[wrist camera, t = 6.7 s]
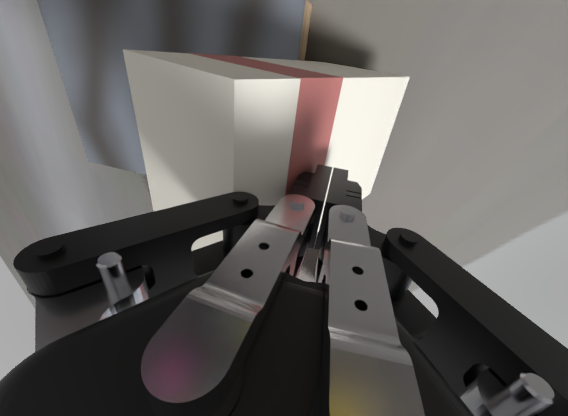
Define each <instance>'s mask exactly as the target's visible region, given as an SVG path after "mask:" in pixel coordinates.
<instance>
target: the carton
mask: <svg viewBox="0 0 568 416" xmlns="http://www.w3.org/2000/svg"><path fill="white" fill-rule="evenodd" d="M123 54H124V59H125V64H126V70H127V75H128V80H129V85H130V90H131V96H132V101H133V106H134V111H135V116H136V122H137V127H138V132H139V137H140V142H141V148H142V153H143V158H144V163H145V169H146V174H147V179H148V184H149V189H150V195H151V200H152V205H153V210H154V211H158V210H162V209H166V208H170V207H174V206H179V205H183V204H187V203H191V202H195V201H199V200H203V199H207V198H211V197H215V196H219V195H223V194H227V193H231V192H248V193H251V194H253V195H255V196H256V197H257V198H258V200H259V205H266V206H272V205H276V204H277V203H278V201H279V200H280V199H281V198H282V197H283V196H285V195H289V194H290V192H291V190H292V188H293V186H294V184H295V182H296V180H297V178H298V176H299V175H300V174H301V173H303V172H305V171H306V172H310V173H315V170H316V168H317V165H318V164H320V165H325V166H330V167H332V171H331V176H330V180H329V184H328V189H327V193H326V197H325V202H326V198H327V194H328V190H329V185H330V181H331V177H332V173H333V168H334V167H335V168H340V169H345V170H348V180H349V181H354V182H357V183H358V184H359V185H360V186H361V188H362V199H363V198H365V197H366V196H367V195H369V194H370V192H371V189H372V186H373V183H374V181H375V178H376V175H377V172H378V169H379V166H380V163H381V160H382V157H383V154H384V151H385V148H386V145H387V142H388V139H389V136H390V134H391V131H392V128H393V125H394V122H395V119H396V116H397V113H398V110H399V107H400V104H401V101H402V98H403V95H404V92H405V90H406V87H407V84H408V81H409V78H410V77H407V76H401V75H396V74H390V73H384V72H378V71H372V70H367V69H361V68H355V67H349V66H344V65H338V64H332V63H326V62H316V61H300V60H285V59H269V58H253V57H238V56H228V55H213V54H198V53H174V52H158V51H142V50H127V49H123ZM325 202H324V206H323V210H322V214H321V218H320V222H319V227H318V231H319V228H320V224H321V220H322V215H323V211H324V207H325ZM318 231H317V232H318ZM222 240H223V230H222V231H219V232H216V233H213V234H210V235H207V236H204V237H201V238H199V239H197V240H196V241H195V242H194V243H193V245H192V248H191V250H192V251H193V250H196V249H199V248H202V247H205V246H208V245H210V244H213V243H216V242H219V241H222Z"/></svg>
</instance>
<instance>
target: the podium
mask: <svg viewBox="0 0 568 416" xmlns="http://www.w3.org/2000/svg"><path fill="white" fill-rule="evenodd" d="M37 1H38V5H39V8H40V11H41V14H42V17H43V20H44V23H45V27H46V30H47V33H48V36H49V39H50V42H51V46H52V49H53V52H54V55H55V58H56V61H57V64H58V68H59V71H60V74H61V77H62V80H63V83H64V86H65V90H66V93H67V96H68V99H69V102H70V105H71V108H72V112H73V115H74V118H75V121H76V124H77V127H78V131H79V134H80V137H81V140H82V143H83V146H84V149H85V153H86V156H87V159H88V161H90V162H94V163H98V164H102V165H107V166H111V167H115V168H119V169H123V170H128V171H132V172H136V173H140V174H144V175H147V174H146V169H145V163H144V158H143V153H142V148H141V142H140V137H139V132H138V127H137V122H136V116H135V111H134V106H133V101H132V96H131V90H130V85H129V80H128V75H127V70H126V64H125V59H124V54H123V49H127V50H142V51H158V52H174V53H198V54H213V55H228V56H238V57H253V58H269V59H285V60H300V61H305V55H306V47H307V40H308V33H309V26H310V18H311V11H312V4H311V3H310V2H309V1H308V0H37Z"/></svg>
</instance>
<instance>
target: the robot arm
mask: <svg viewBox="0 0 568 416" xmlns="http://www.w3.org/2000/svg"><path fill="white" fill-rule="evenodd" d="M331 171H332V167H330V166H325V165H320V164H318V165H317V168H316V170H315V173H310V172H306V171H305V172H303V173H301V174H300V175H299V176H298V178H297V180H296V182H295V184H294V186H293V188H292V190H291V192H290V194H289V195H285V196H283V197H282V198H281V199H280V200H279V201H278V203H277V204H276V205H272V206H266V205H259V200H258V198H257V197H256V196H255V195H253V194H251V193H248V192H231V193H227V194H223V195H219V196H215V197H211V198H207V199H203V200H199V201H195V202H191V203H187V204H183V205H179V206H174V207H170V208H166V209H162V210H158V211H154V212H150V213H146V214H142V215H138V216H134V217H130V218H126V219H122V220H118V221H114V222H110V223H106V224H102V225H97V226H93V227H89V228H85V229H81V230H77V231H73V232H69V233H65V234H61V235H57V236H53V237H49V238H45V239H42V240H40V241H37V242H35V243H33V244H31V245H29V246H27V247H26V248H24V249H23V250H22V251H20V252H19V253H18V255H17V256H16V257H15V259H14V263H13V264H14V267H15V269H16V270H17V272H18V273H19V275H20V276H21V278H22V280H23V281H24V283H25V284H26V286H27V291H28V293H29V294H30V296H31V298H32V299H33V301H34V302H35V304H36V318H35V321H36V322H35V324H36V325H35V328H36V329H35V332H36V333H35V334H36V335H35V336H36V337H35V342H36V343H35V344H36V345H35V349H36V350H35V353H33V354H32V355H30V356H29V357H27V358H26V359H25V360H23V361H22V362H21V363H20V364H19V365H17V366H16V367H15V368H14V369H12V370H11V371H10V372H9V373H8V374H7V375H6V376H5V377H4V378H3V379H2V380H1V381H0V416H568V349H567V348H566V347H565V346H563V345H562V344H561V343H559V342H558V341H557V340H555V339H554V338H553V337H551V336H550V335H549V334H548V333H546V332H545V331H544V330H542V329H541V328H540V327H539V326H537V325H536V324H535V323H533V322H532V321H531V320H529V319H528V318H527V317H526V316H524V315H523V314H522V313H520V312H519V311H518V310H517V309H515V308H514V307H513V306H511V305H510V304H509V303H507V302H506V301H505V300H504V299H502V298H501V297H500V296H498V295H497V294H496V293H494V292H493V291H492V290H491V289H489V288H488V287H487V286H485V285H484V284H483V283H481V282H480V281H479V280H478V279H476V278H475V277H474V276H472V275H471V274H470V273H468V272H467V271H466V270H465V269H463V268H462V267H461V266H459V265H458V264H457V263H455V262H454V261H453V260H452V259H450V258H449V257H448V256H446V255H445V254H444V253H443V252H441V251H440V250H439V249H437V248H436V247H435V246H433V245H432V244H431V243H430V242H428V241H427V240H426V239H424V238H423V237H422V236H420V235H419V234H417V233H415V232H413V231H411V230H408V229H403V228H392V229H390V230H389V231H388V232H387V234H383V233H381V232H379V231H376V230H374V229H373V228H371V227H370V226H368V225H367V220H366V216H365V215H364V214H363V213H362V188H361V186H360V185H359V184H358V183H357V182H354V181H349V180H348V170H345V169H340V168H335V167H334V168H333V173H332V177H331V181H330V185H329V190H328V194H327V198H326V202H325V197H326V193H327V189H328V184H329V180H330V176H331ZM324 202H325V207H324V211H323V215H322V220H321V224H320V228H319V233H318V237H317V241H316V246H315V249H319V255H318V259H317V263H316V271H315V281H314V282H306V281H302V280H300V279H298V278H297V276H298V274H299V271H300V269H301V266H302V264H303V261H304V257H305V254H306V253H307V251H308V247H310V248H313V247H314V243H315V239H316V235H317V231H318V227H319V222H320V218H321V214H322V210H323V206H324ZM222 230H223V240H222V241H219V242H216V243H213V244H210V245H208V246H205V247H202V248H199V249H196V250H193V251H192V250H191V248H192V245H193V243H194V242H195V241H196V240H197V239H199V238H201V237H204V236H207V235H210V234H213V233H216V232H219V231H222ZM412 281H414V282H415V283H416V284H417V285H418V286H419V287H420V288H421V289H422V290H423V291H424V292H425V293H426V294H428V295H429V296H430V297H431V298H432V299H433V300H434V302H435V303H436V305H437V307H438V310H439V315H438V317H437V319H436V317H435V316H434V315H433V314H432V313H431V312H430V311H429V310H428V309H427V308H426V307H425V306H424V305H423V304H422V303H421V302H420V301H419V300H418V299H417V298H416V297H415V296H414V295H413V294H412V293H411V292H410V291H409V290H408V288H409V286H410V284H411V282H412Z"/></svg>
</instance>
